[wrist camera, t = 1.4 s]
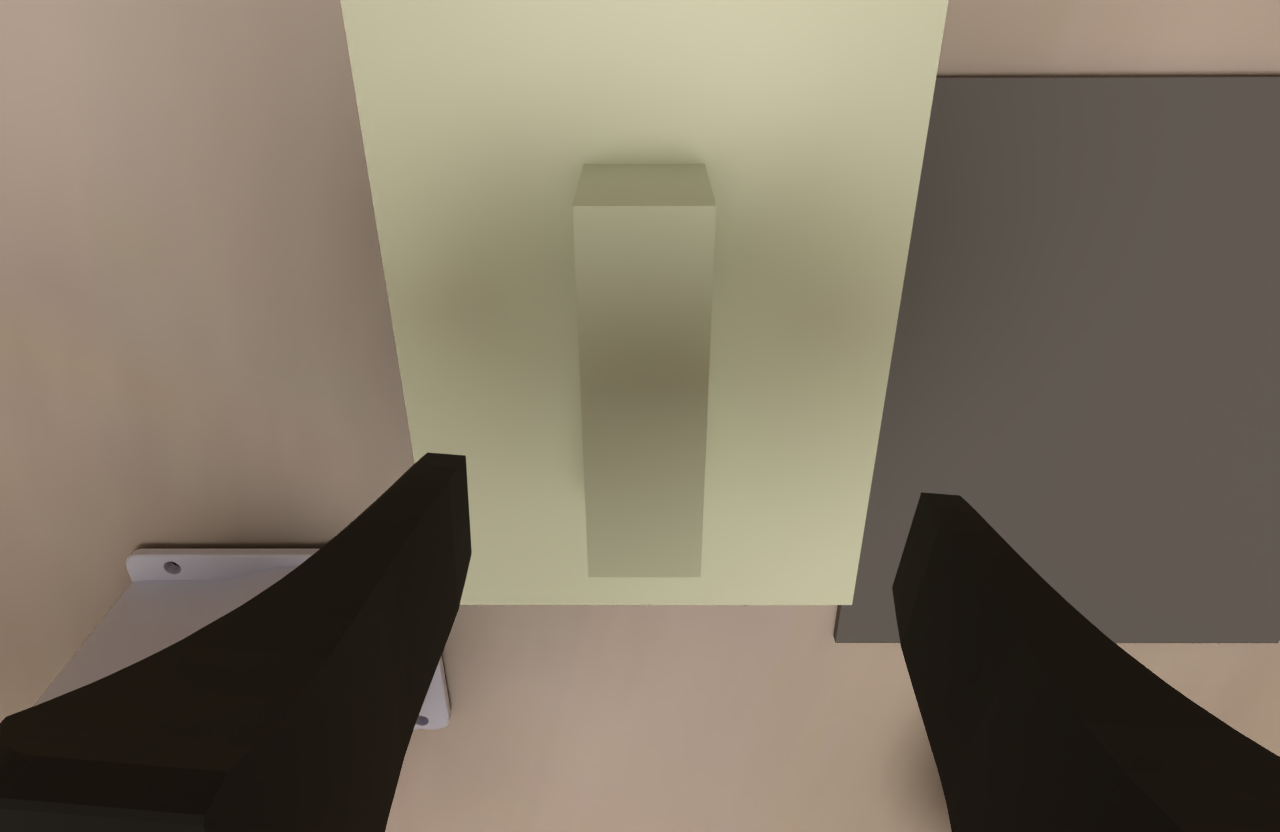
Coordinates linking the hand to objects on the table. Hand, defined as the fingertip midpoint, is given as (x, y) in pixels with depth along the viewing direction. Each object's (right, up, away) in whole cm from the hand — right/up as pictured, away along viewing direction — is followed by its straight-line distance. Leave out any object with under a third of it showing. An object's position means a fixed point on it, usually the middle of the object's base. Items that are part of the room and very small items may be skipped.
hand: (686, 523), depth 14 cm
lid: (-1, +4, +7) cm, 8 cm away
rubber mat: (+13, +2, +11) cm, 17 cm away
